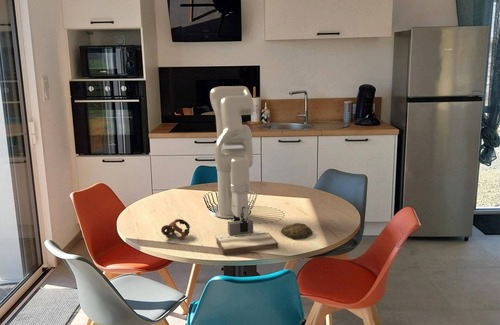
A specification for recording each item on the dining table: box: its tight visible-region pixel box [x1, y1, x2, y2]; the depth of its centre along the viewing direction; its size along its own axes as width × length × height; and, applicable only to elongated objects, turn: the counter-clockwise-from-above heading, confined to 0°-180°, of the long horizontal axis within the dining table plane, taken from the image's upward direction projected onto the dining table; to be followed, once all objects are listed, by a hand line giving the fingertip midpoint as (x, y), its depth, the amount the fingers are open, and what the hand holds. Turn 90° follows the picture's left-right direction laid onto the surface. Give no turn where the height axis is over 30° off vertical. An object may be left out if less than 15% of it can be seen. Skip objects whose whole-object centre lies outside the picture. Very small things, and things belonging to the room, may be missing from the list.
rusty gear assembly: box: [160, 218, 191, 241], centre depth 197 cm, size 12×10×8 cm
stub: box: [213, 219, 267, 240], centre depth 196 cm, size 6×21×7 cm, turn 106°
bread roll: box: [280, 222, 314, 240], centre depth 200 cm, size 13×12×5 cm
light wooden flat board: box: [215, 231, 279, 256], centre depth 188 cm, size 12×22×2 cm, turn 106°
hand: (240, 228), depth 195 cm, fingers open, 9 cm apart
